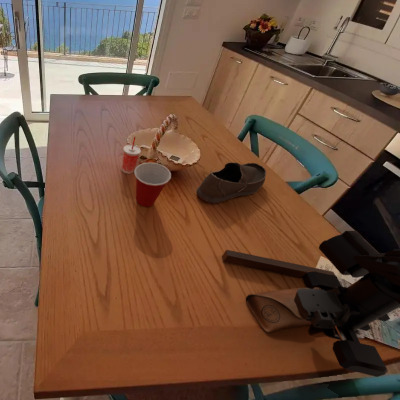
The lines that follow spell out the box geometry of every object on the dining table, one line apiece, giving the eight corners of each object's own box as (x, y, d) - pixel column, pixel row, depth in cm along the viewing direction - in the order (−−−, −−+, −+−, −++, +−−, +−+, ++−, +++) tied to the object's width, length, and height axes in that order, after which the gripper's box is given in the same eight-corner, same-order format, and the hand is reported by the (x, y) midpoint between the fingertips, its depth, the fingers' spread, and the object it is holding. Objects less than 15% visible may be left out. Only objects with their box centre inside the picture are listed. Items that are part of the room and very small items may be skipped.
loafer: (269, 186, 98) (286, 162, 91) (216, 213, 86) (230, 188, 78) (243, 170, 104) (256, 147, 97) (190, 193, 92) (201, 168, 85)
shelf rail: (328, 284, 68) (337, 278, 66) (222, 262, 72) (227, 255, 70) (325, 278, 70) (333, 271, 68) (221, 256, 73) (226, 249, 71)
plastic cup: (122, 193, 90) (128, 164, 82) (150, 188, 93) (158, 159, 85) (137, 216, 83) (146, 186, 75) (167, 209, 86) (178, 179, 78)
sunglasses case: (268, 335, 57) (271, 307, 56) (243, 314, 64) (246, 289, 63) (338, 324, 60) (343, 297, 59) (307, 305, 67) (311, 281, 66)
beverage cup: (120, 164, 103) (126, 131, 94) (136, 166, 102) (144, 133, 93) (118, 173, 99) (125, 139, 89) (135, 176, 98) (143, 142, 88)
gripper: (298, 247, 54) (259, 286, 65) (343, 342, 41) (284, 372, 51) (359, 259, 53) (309, 297, 63) (426, 362, 39) (348, 388, 50)
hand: (311, 334), depth 57 cm, fingers closed
